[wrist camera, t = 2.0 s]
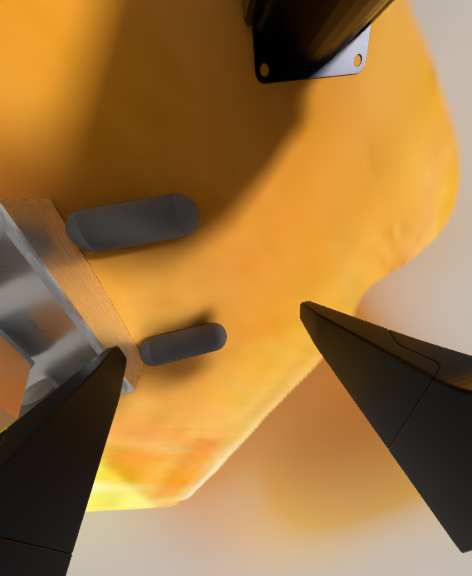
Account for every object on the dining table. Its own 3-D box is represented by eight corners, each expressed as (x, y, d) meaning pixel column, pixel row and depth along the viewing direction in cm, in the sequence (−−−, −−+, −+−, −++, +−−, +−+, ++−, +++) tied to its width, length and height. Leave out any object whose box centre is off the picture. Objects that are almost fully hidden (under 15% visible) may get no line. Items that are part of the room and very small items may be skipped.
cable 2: (222, 315, 16) (225, 332, 14) (227, 334, 17) (230, 353, 15) (140, 333, 15) (130, 355, 13) (150, 352, 16) (143, 375, 14)
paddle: (53, 372, 12) (47, 440, 8) (77, 396, 13) (81, 463, 10) (20, 390, 11) (-3, 473, 7) (49, 413, 12) (42, 493, 9)
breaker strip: (50, 198, 10) (-9, 198, 7) (145, 360, 17) (133, 393, 14) (-110, 223, 9) (-246, 234, 6) (56, 382, 16) (25, 422, 13)
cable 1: (194, 191, 11) (193, 190, 9) (203, 229, 12) (203, 236, 10) (73, 211, 11) (41, 214, 8) (94, 250, 12) (70, 261, 10)
